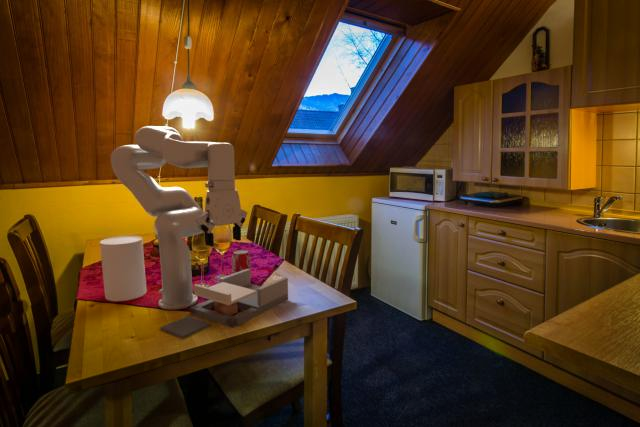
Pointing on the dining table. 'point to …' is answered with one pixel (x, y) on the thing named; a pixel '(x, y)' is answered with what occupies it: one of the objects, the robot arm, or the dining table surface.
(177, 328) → the mat
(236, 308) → the block
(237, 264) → the soda can
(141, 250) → the canister
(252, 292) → the sliding lid
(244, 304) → the gray box frame
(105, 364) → the dining table surface
